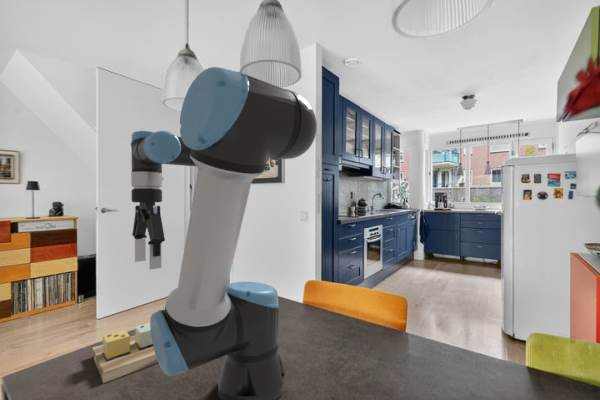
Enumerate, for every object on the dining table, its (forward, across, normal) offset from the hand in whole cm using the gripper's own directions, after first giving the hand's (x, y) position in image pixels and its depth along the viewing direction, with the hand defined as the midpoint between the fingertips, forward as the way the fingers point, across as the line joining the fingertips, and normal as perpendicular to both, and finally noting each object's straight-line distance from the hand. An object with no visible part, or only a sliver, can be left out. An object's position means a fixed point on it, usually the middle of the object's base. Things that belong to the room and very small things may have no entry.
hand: (147, 264), depth 80 cm
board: (+24, 0, 0) cm, 24 cm away
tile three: (+21, 0, +7) cm, 23 cm away
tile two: (+21, 0, 0) cm, 21 cm away
